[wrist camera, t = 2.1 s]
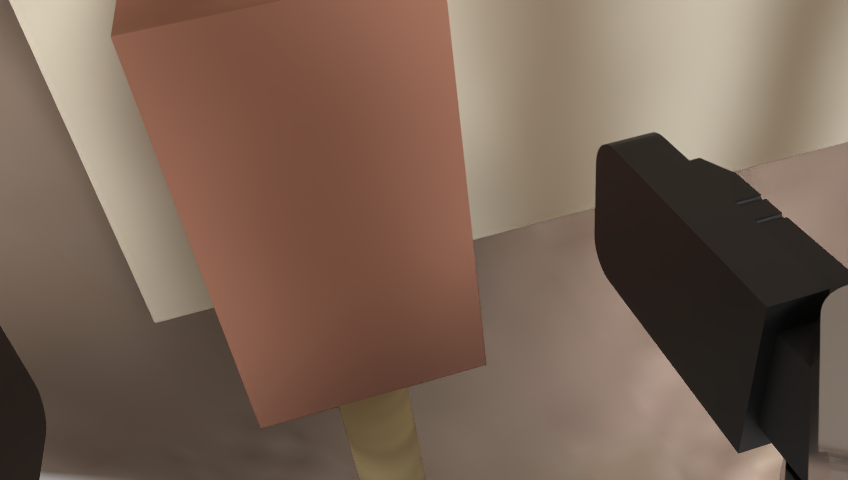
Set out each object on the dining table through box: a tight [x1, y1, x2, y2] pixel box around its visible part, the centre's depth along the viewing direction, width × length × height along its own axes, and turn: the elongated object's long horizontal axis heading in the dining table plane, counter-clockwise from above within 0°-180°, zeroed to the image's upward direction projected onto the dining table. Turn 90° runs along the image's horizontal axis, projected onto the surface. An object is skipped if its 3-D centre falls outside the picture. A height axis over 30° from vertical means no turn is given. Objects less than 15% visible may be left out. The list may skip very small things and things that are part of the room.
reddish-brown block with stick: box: [111, 0, 486, 480], centre depth 15 cm, size 4×12×6 cm, turn 8°
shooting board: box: [9, 0, 848, 323], centre depth 17 cm, size 21×11×5 cm, turn 98°
